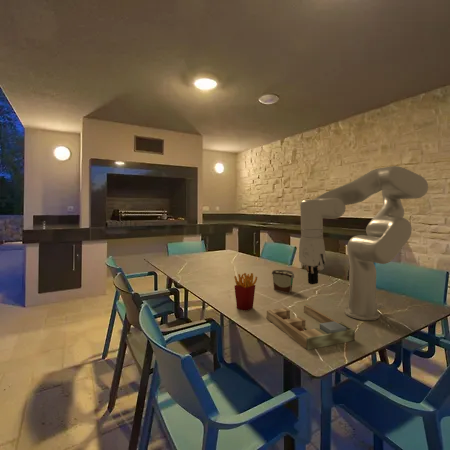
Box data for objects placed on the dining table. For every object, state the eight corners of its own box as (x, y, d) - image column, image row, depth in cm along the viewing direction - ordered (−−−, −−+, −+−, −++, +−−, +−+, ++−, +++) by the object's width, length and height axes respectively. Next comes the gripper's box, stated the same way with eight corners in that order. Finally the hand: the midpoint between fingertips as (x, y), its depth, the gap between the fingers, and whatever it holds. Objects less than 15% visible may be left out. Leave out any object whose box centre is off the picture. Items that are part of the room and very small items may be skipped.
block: (334, 334, 96) (334, 321, 96) (346, 341, 91) (346, 327, 91) (319, 336, 94) (319, 323, 94) (330, 344, 89) (330, 330, 89)
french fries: (246, 312, 116) (246, 276, 115) (231, 307, 121) (230, 273, 120) (258, 306, 122) (258, 272, 121) (243, 302, 128) (243, 269, 127)
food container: (298, 291, 144) (299, 272, 143) (292, 294, 139) (292, 274, 139) (278, 286, 152) (278, 268, 151) (271, 289, 148) (271, 270, 147)
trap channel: (305, 312, 116) (306, 303, 116) (354, 340, 91) (354, 329, 91) (266, 318, 110) (266, 308, 110) (307, 349, 85) (307, 338, 85)
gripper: (291, 232, 108) (292, 279, 110) (316, 236, 94) (317, 290, 96) (308, 231, 111) (309, 277, 112) (334, 234, 97) (335, 287, 98)
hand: (313, 283), depth 104 cm, fingers closed
